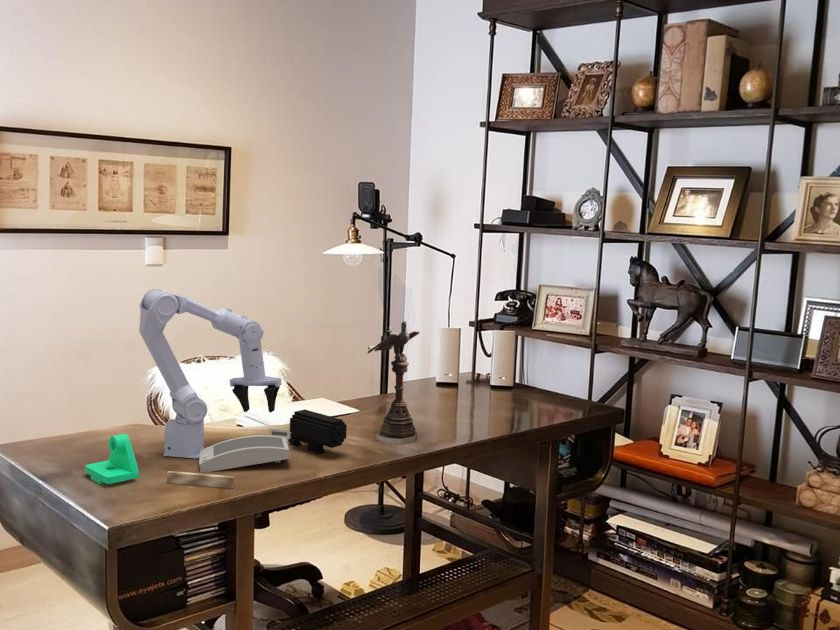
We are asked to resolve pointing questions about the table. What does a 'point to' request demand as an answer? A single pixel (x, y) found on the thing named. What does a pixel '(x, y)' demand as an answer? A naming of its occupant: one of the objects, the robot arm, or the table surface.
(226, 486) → the rail
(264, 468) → the table surface
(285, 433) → the label tag
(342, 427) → the security camera
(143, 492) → the table surface
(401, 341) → the bird statue
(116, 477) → the camera mount
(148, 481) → the table surface
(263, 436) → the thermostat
